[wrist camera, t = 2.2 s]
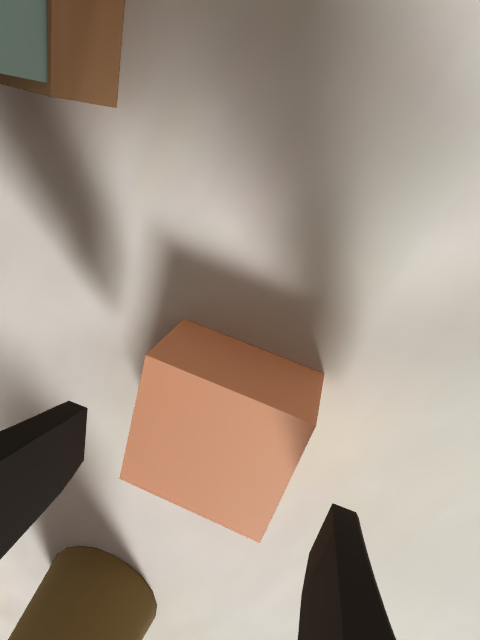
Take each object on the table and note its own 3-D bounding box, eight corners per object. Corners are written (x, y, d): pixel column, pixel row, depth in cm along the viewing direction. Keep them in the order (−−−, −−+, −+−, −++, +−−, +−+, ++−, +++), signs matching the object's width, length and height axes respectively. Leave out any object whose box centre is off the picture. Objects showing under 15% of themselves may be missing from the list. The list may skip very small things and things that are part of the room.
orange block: (159, 424, 16) (119, 478, 13) (186, 316, 14) (145, 354, 11) (276, 475, 16) (259, 542, 13) (324, 370, 13) (316, 425, 11)
